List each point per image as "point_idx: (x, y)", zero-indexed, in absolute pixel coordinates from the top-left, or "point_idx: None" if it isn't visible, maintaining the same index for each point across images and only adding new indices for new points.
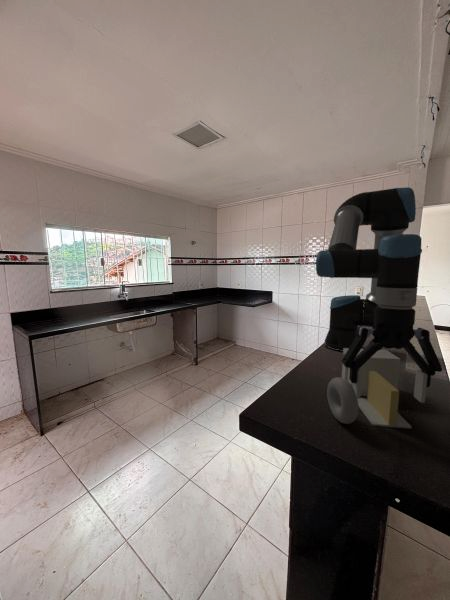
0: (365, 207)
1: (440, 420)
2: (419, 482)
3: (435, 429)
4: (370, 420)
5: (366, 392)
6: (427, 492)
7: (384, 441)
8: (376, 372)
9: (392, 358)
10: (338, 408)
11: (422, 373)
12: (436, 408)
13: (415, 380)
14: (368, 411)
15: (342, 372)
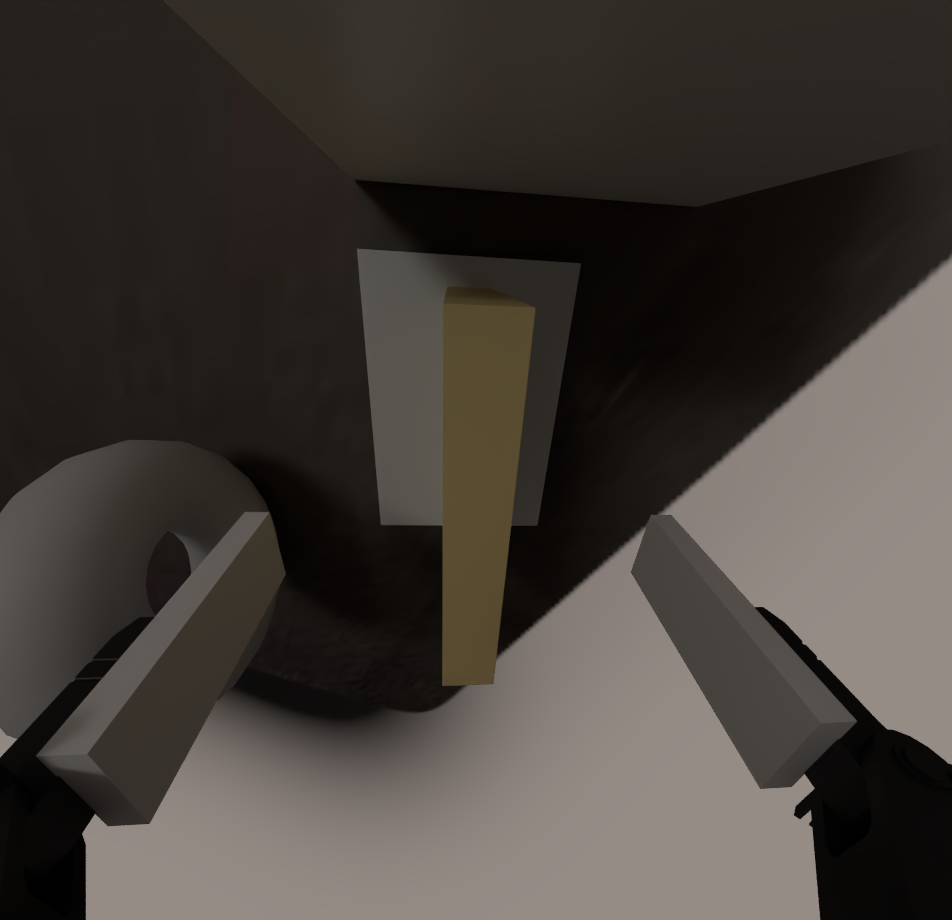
0: None
1: (714, 452)
2: (409, 691)
3: (628, 514)
4: (379, 503)
5: (479, 182)
6: (411, 706)
7: (389, 592)
8: (522, 349)
9: None
10: (188, 550)
11: (780, 772)
12: (818, 339)
13: (728, 613)
14: (399, 430)
15: None
